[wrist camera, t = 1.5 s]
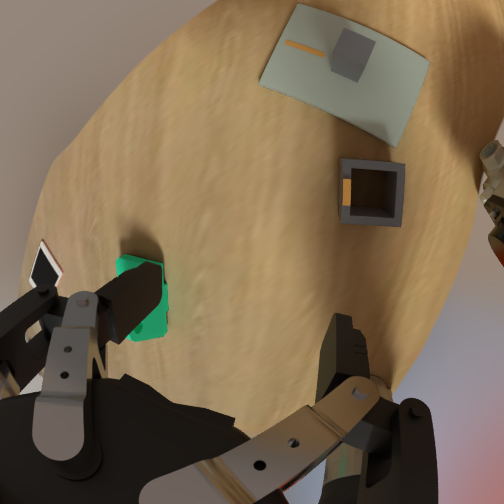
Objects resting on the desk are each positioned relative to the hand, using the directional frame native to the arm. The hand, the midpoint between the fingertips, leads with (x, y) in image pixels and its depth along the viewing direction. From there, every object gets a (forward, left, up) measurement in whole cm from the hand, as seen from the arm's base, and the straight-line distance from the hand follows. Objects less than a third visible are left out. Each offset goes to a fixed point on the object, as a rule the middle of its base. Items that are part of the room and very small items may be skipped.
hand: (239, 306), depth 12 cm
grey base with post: (+1, -18, -20) cm, 27 cm away
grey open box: (-6, -6, -20) cm, 22 cm away
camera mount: (+15, +21, -21) cm, 33 cm away
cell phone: (+43, +36, -21) cm, 60 cm away
